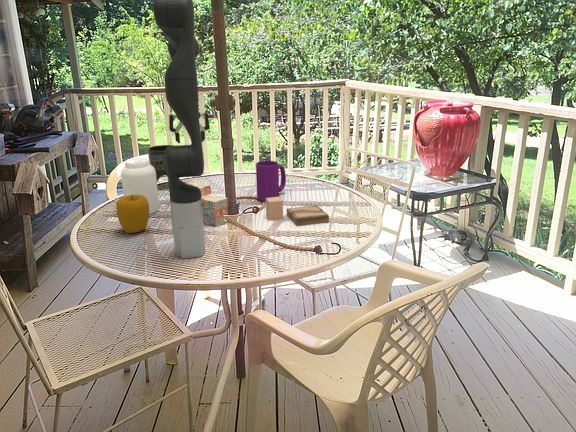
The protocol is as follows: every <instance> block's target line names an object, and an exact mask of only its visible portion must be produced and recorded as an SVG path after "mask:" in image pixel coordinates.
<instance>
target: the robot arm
mask: <svg viewBox="0 0 576 432" xmlns="http://www.w3.org/2000/svg"><path fill="white" fill-rule="evenodd" d="M194 10H195V9H194V2H193V0H152V11H153V19H154V21H155V24H156V26H157V27H158V29H160V30H161V31H162V32H163V33H164V35H165V36H166V37H167V38H168V41H167V51H168V55H169V57H170V59H171V60H170V62H169V64H168V66H167V68H166V70H165V74H164V93H165V98H166V102H167V104H168V106H169V107H170V108H171V110H172V111H173V112H174V114H172V113H169V115H168V124H169V125H168V126H169V127H168V128H169V132H172V133H174V138H175V141H176V142H177V144H181V138H180V130H181V129H183V127H184V129H185V130H186V132H187V134H188V137H189V139H190V144H183V145H182V144H181V145H177V144H176V145H174V146H168V147H167V148H166V150H165V164H166V170H167V176H168V177H167V176H166V177H167V183H168V193H169V205H170V216H171V224H172V225H171V226H172V235H173V245H174V247H173V248H174V253H175V256H177V257H180V258H181V259H189V258H190V259H191V258H197V257H198V258H199V257H202V256H203V255H204V254H205V253H206V242H205V226H204V222H203V213H202V199H201V190H200V189H199V188H198V187H196V186H193V185H189V184H187V183H185V182H184V181H183V180H181V179H180V178H195V177H201V176H203V174H204V171H205V159H204V151H203V150H204V149H203V142H204V141H206V131H207V130H210V129H211V128H210V119H209V114H208V112H202V113H201V112H200V108H199V107H200V105H199V102H200V101H199V84H198V73H197V63H196V58H197V57H198V56H199V54H200V46H199V43H198V40H197V38H196V37H195V11H194ZM201 117H202V119H203V120H204V126H203V125H202V124H201V123H200V118H201ZM176 119H177V120H178V121H179V122H178V124H177V126H176V127H174V121H176Z"/></svg>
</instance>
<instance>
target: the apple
mask: <svg viewBox="0 0 576 432" xmlns="http://www.w3.org/2000/svg"><path fill="white" fill-rule="evenodd" d="M115 207H116V208H115V209H116V210H115V211H116V216H117V219H118V222H119V224H120V226H121V228H122V230H123V231H124V232H125V233H127V234H135V233H140V232H142V231H143V230H144V229H146V227H147V225H148V222H149V218H150V214H149V203H148V200H147V198H146V197H144V196H142V195H129V196H125V197H124V196H121V197H120V198H119V199H117V201H116V203H115Z"/></svg>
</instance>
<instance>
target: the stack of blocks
mask: <svg viewBox="0 0 576 432" xmlns="http://www.w3.org/2000/svg"><path fill="white" fill-rule="evenodd" d="M183 182H185V183H187V184H189V185H193V186H196V187H198V188H199V189H200V190H201V199H202V213H203V224H204V223H205V224H207V225H210V226H213V227H215V228H216V227H219V226H222V225H224V224H228V223H229V220H228V221H225V220H224V219H223V218H222V217H221V216H222V215H228V216H229V207H228V206H229V204H228V203H229V200H228V197H225V196H222V195H218V194H215V193H212V188H211V184H206V183H203V182H199V181H195V180H193V179H188V180H185V181H183Z"/></svg>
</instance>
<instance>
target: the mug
mask: <svg viewBox="0 0 576 432" xmlns="http://www.w3.org/2000/svg"><path fill="white" fill-rule="evenodd" d="M279 170H280V171H279ZM255 173H256V174H255V176H256V178H255V179H256V180H255V182H256V197H257V200H258V201H260V202H264V203H266V198H271V197H280V193H281V192H283V190H285V187H286V185H287V184H286V181H287V177H286V176H287V174H286V169H285V167H284V166H283V164H280V163H279V162H278V161H275V160H261V161H257V162H256V163H255ZM279 173H280V175H279Z"/></svg>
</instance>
